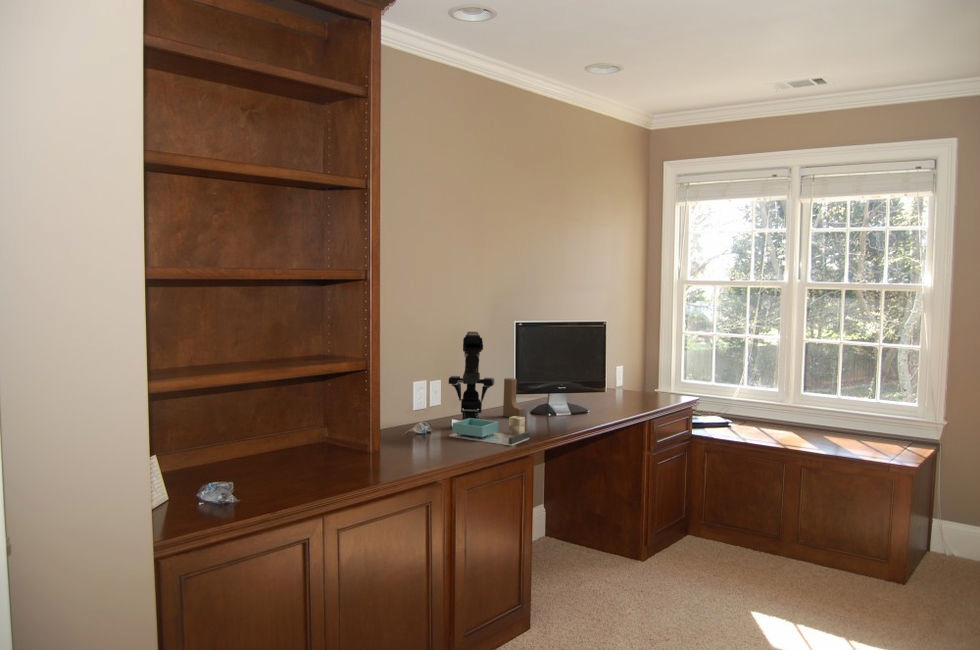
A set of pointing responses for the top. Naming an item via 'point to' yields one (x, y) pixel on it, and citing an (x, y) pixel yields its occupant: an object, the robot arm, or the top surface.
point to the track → (497, 438)
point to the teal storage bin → (475, 427)
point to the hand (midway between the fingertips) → (470, 401)
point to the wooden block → (511, 399)
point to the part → (516, 425)
